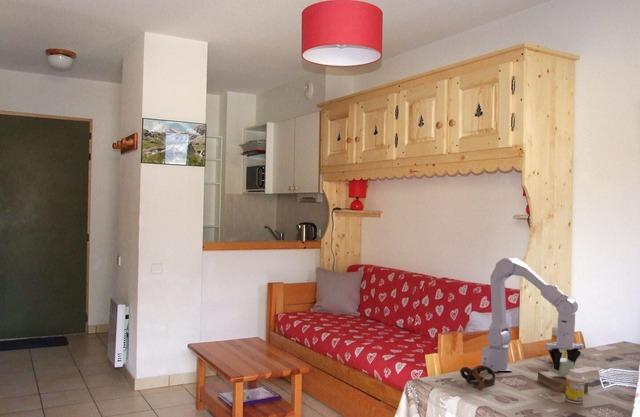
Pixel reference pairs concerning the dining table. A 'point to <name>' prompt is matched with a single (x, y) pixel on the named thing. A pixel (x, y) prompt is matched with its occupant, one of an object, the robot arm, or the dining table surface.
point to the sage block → (564, 367)
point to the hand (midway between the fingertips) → (563, 369)
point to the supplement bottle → (575, 386)
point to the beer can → (554, 338)
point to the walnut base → (555, 381)
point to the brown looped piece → (478, 376)
